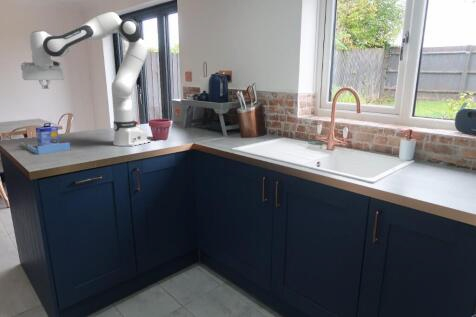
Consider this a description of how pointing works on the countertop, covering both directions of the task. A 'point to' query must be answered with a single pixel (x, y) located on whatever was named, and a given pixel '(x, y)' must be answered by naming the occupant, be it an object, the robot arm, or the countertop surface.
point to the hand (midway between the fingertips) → (45, 88)
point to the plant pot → (160, 128)
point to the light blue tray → (47, 148)
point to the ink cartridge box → (47, 135)
